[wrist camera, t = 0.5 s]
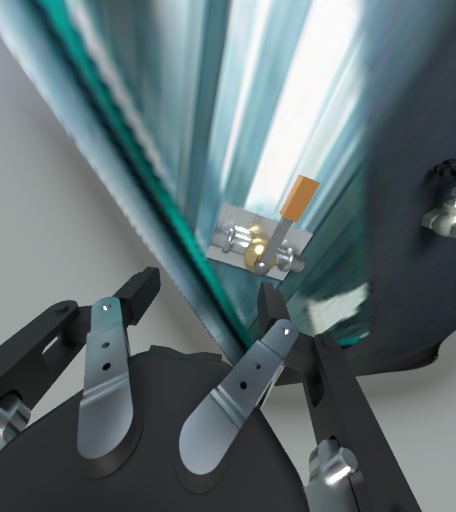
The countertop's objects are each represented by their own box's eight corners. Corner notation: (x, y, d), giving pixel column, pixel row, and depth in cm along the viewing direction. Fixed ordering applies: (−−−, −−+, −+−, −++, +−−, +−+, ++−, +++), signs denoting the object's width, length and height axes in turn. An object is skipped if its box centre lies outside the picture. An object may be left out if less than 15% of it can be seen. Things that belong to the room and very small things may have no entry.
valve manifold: (224, 200, 31) (220, 212, 25) (310, 231, 34) (329, 250, 27) (207, 253, 37) (200, 275, 30) (281, 276, 40) (290, 301, 33)
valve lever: (264, 271, 29) (265, 278, 28) (251, 267, 29) (252, 273, 27) (314, 181, 22) (320, 183, 20) (298, 174, 22) (302, 176, 20)
